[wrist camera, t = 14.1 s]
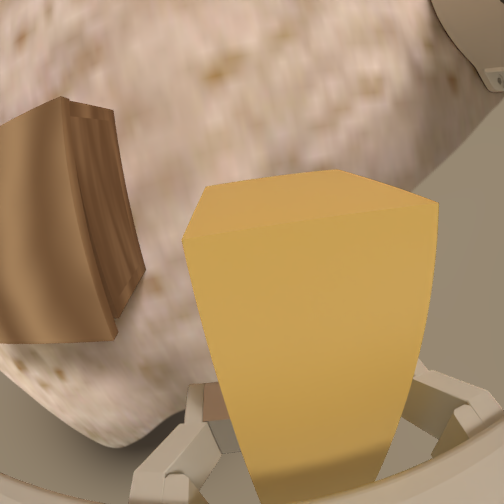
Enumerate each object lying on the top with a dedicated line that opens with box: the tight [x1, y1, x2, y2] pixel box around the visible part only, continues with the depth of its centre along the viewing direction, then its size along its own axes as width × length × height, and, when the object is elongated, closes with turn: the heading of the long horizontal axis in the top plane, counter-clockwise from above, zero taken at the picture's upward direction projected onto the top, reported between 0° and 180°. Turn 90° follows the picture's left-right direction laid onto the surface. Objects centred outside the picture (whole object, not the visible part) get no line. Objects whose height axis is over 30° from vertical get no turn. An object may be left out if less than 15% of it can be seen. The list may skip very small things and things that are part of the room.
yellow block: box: [182, 169, 439, 504], centre depth 9 cm, size 4×12×5 cm, turn 8°
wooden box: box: [69, 101, 146, 318], centre depth 19 cm, size 16×14×8 cm
